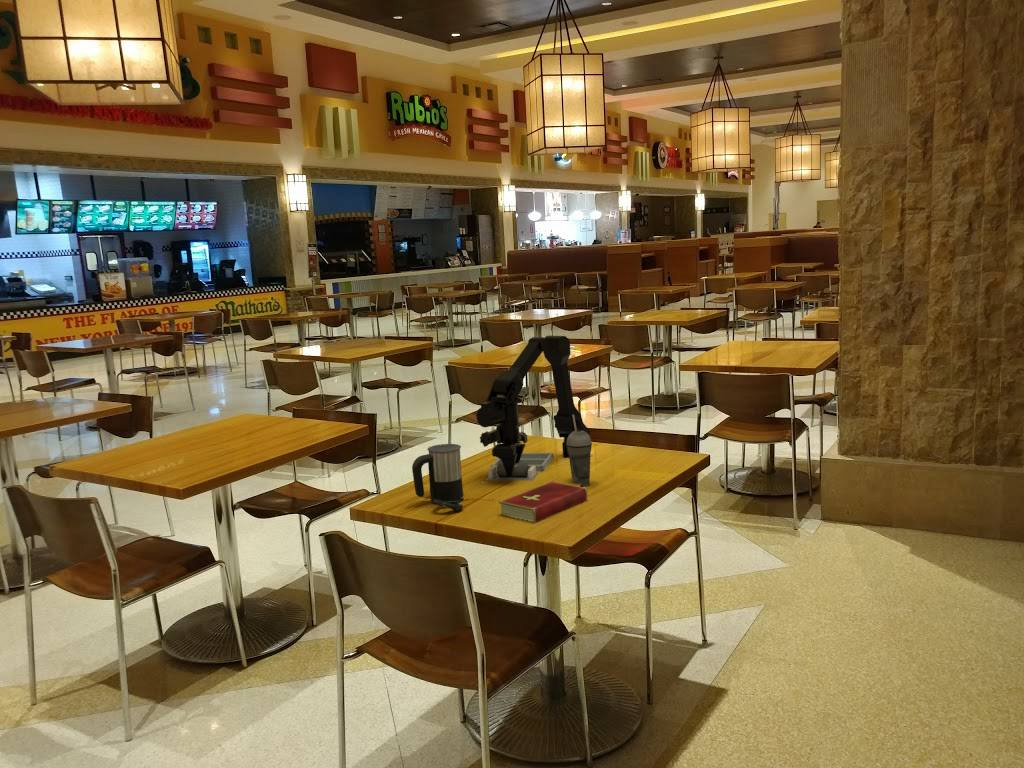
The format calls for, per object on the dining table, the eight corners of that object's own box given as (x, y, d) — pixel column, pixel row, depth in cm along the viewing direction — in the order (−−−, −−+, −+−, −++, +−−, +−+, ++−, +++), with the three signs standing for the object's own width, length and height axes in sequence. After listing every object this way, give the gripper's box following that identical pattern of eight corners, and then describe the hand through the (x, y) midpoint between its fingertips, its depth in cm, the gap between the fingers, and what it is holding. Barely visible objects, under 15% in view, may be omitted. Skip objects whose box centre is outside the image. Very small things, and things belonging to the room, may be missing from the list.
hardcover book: (587, 502, 218) (586, 486, 217) (535, 524, 203) (534, 508, 202) (552, 495, 226) (551, 480, 225) (499, 516, 211) (498, 500, 210)
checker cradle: (538, 475, 244) (538, 464, 244) (532, 483, 237) (532, 472, 236) (493, 475, 248) (492, 464, 247) (485, 483, 240) (484, 471, 240)
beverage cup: (592, 488, 228) (589, 417, 225) (566, 488, 230) (562, 417, 227) (595, 480, 235) (592, 411, 232) (570, 480, 237) (566, 412, 234)
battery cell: (528, 474, 243) (528, 461, 242) (525, 478, 239) (524, 464, 238) (499, 474, 245) (498, 461, 244) (495, 478, 241) (494, 464, 241)
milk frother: (450, 493, 233) (446, 441, 231) (488, 502, 222) (484, 448, 219) (409, 506, 223) (405, 452, 221) (447, 517, 212) (442, 460, 210)
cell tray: (553, 460, 260) (553, 453, 260) (543, 474, 246) (542, 466, 245) (504, 460, 264) (503, 453, 264) (491, 474, 250) (490, 465, 249)
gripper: (490, 414, 250) (493, 464, 253) (472, 428, 232) (476, 481, 235) (526, 413, 248) (529, 464, 250) (511, 427, 230) (514, 482, 232)
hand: (512, 472), depth 242 cm, fingers open, 7 cm apart
